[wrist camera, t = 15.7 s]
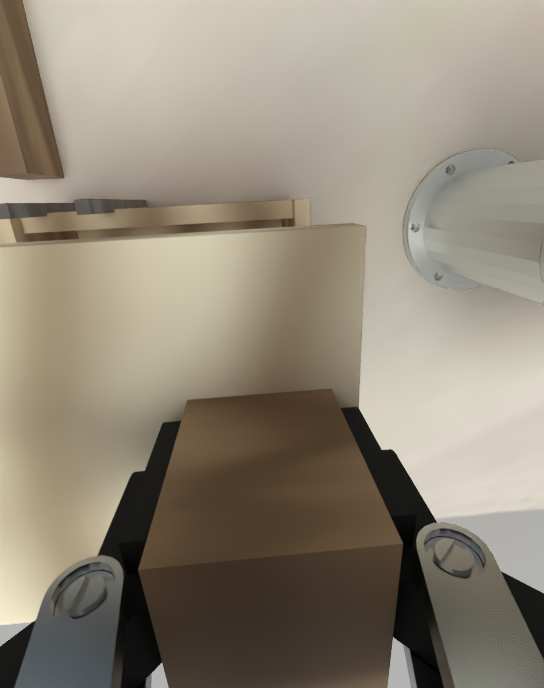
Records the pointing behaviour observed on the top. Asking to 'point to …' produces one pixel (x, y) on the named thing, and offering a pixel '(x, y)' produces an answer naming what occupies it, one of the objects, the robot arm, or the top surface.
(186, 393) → the lid
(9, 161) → the plank
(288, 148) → the top surface
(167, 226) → the open wooden box
